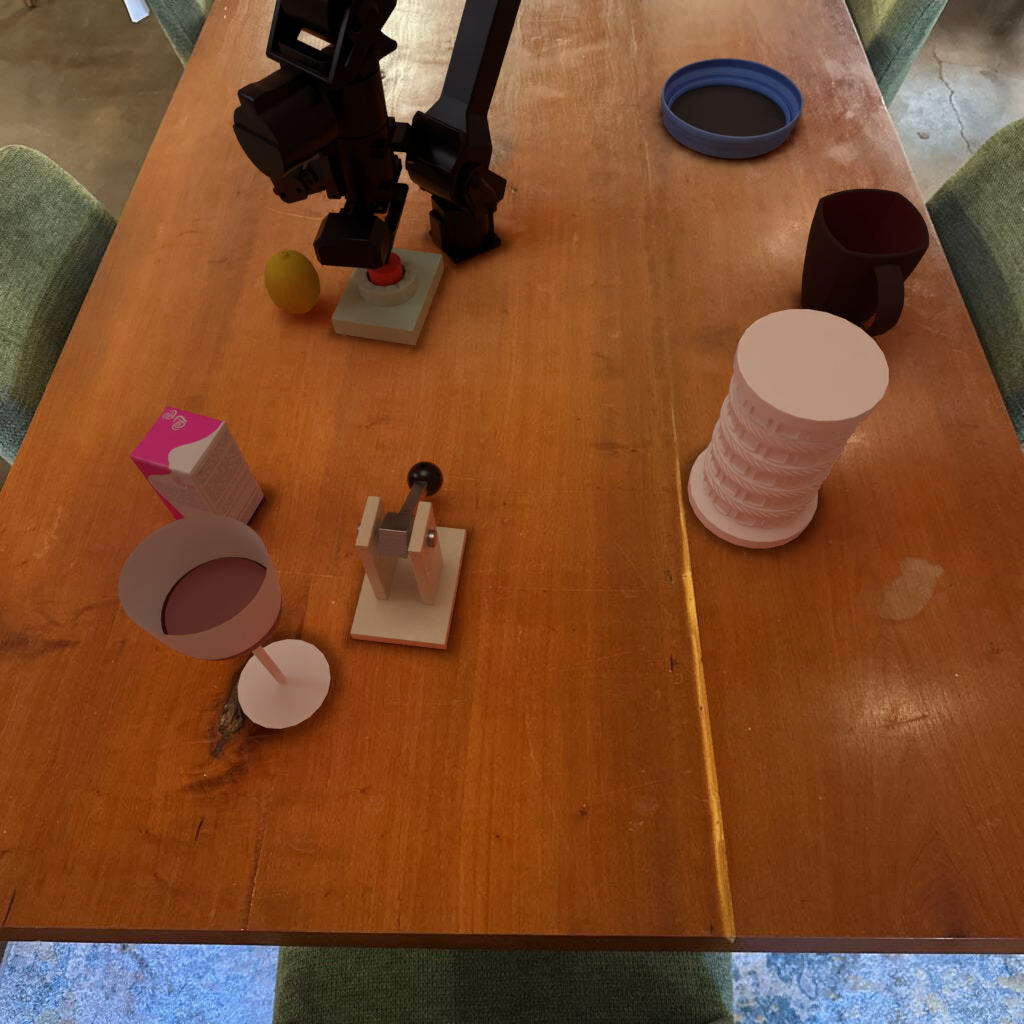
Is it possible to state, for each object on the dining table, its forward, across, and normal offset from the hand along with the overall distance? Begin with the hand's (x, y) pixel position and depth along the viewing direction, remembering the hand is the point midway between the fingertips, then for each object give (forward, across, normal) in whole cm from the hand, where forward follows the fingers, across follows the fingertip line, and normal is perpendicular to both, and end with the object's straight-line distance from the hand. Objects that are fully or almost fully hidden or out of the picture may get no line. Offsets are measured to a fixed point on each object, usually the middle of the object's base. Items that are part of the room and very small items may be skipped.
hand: (383, 261), depth 80 cm
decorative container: (+6, +21, +39) cm, 44 cm away
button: (+2, 0, 0) cm, 2 cm away
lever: (0, +31, +9) cm, 32 cm away
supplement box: (+6, +29, -10) cm, 31 cm away
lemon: (+6, +3, -10) cm, 11 cm away
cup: (+6, -2, +48) cm, 49 cm away
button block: (+5, 0, 0) cm, 5 cm away
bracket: (+5, +34, +9) cm, 36 cm away
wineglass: (+6, +44, 0) cm, 44 cm away
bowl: (+6, -38, +37) cm, 53 cm away
